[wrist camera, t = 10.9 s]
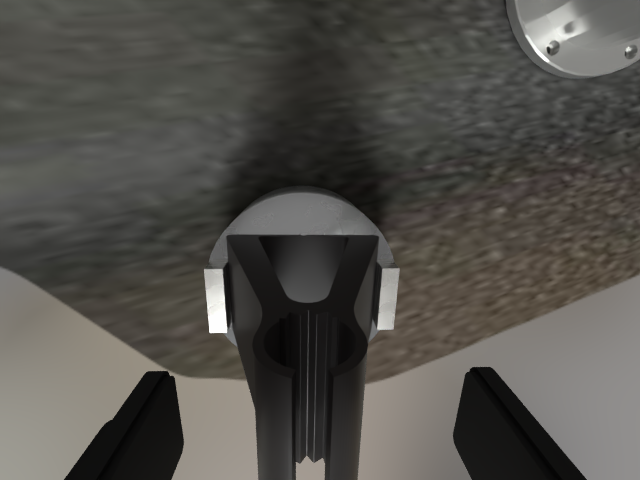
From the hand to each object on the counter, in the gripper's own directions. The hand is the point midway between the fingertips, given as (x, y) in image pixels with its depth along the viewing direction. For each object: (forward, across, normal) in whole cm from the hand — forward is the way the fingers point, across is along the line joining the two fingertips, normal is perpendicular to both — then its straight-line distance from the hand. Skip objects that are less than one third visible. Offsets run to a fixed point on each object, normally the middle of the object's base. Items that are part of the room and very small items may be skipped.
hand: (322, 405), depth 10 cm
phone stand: (+10, +1, 0) cm, 10 cm away
